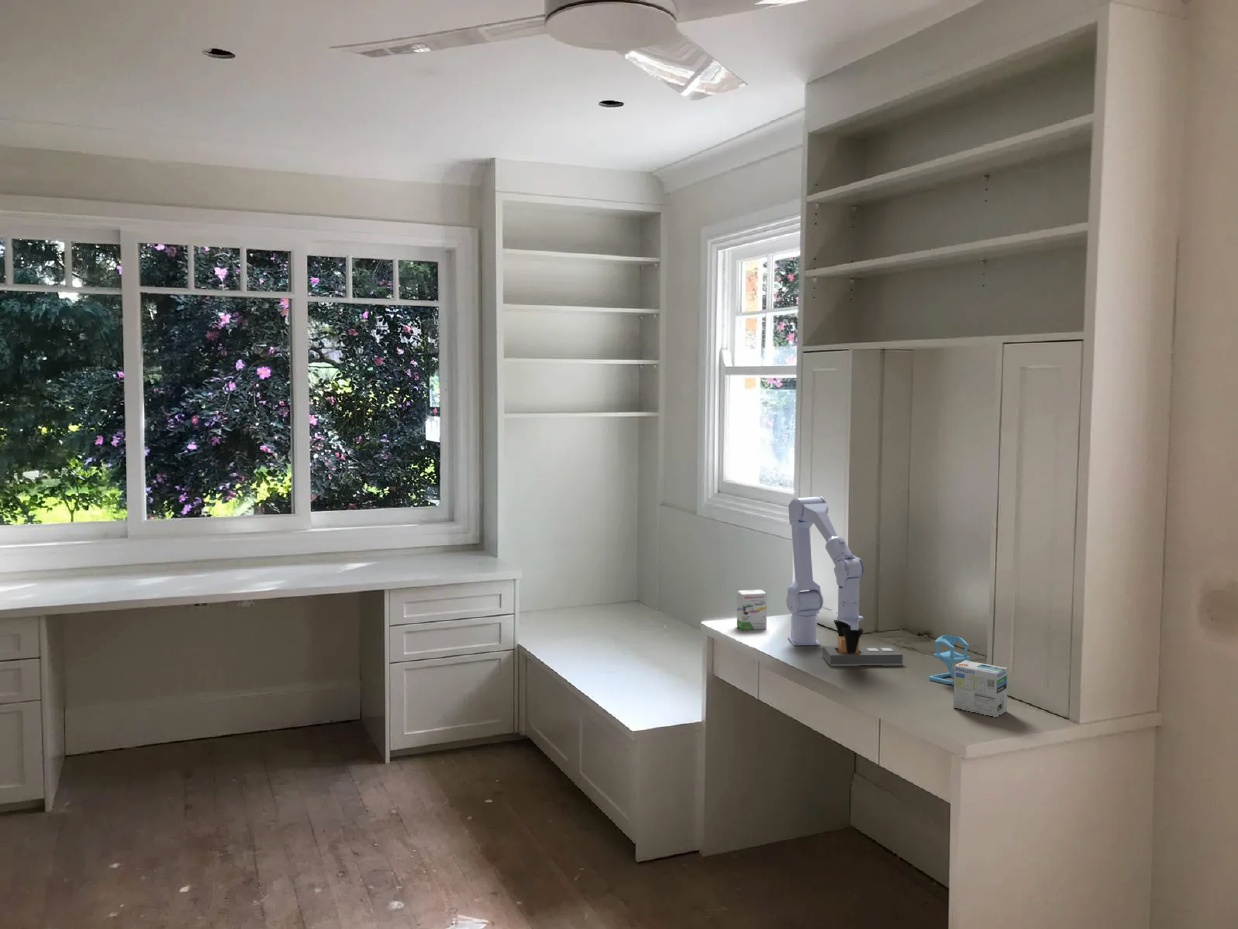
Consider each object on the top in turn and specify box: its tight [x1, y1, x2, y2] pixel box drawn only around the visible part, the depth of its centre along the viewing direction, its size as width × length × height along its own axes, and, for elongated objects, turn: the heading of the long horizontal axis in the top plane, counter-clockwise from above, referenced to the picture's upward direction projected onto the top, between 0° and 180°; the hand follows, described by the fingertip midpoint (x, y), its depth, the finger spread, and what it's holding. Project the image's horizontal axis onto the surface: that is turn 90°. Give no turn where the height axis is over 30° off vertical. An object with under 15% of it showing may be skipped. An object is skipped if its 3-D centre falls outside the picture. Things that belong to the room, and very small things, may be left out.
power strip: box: [822, 644, 904, 667], centre depth 277 cm, size 10×20×3 cm, turn 91°
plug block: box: [837, 635, 860, 653], centre depth 277 cm, size 4×5×6 cm
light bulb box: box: [952, 660, 1008, 718], centre depth 236 cm, size 11×7×11 cm, turn 48°
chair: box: [928, 634, 971, 686], centre depth 257 cm, size 8×8×12 cm
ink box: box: [736, 589, 768, 631], centre depth 314 cm, size 8×5×12 cm, turn 101°
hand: (847, 649), depth 277 cm, fingers open, 7 cm apart
